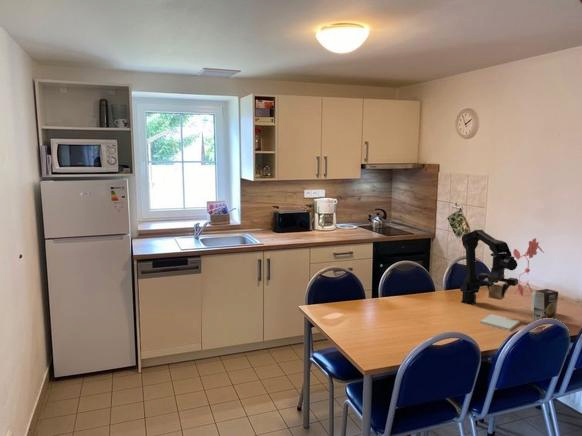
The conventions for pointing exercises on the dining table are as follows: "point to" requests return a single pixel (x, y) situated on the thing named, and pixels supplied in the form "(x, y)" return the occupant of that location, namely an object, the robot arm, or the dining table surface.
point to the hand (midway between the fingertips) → (496, 295)
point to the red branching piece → (531, 252)
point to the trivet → (500, 322)
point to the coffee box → (545, 304)
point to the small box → (533, 301)
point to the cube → (496, 292)
